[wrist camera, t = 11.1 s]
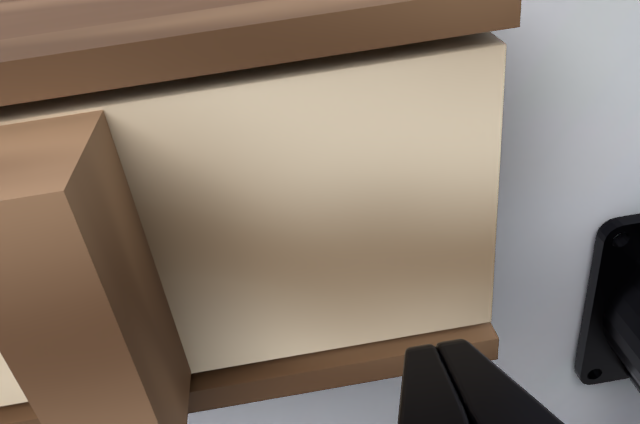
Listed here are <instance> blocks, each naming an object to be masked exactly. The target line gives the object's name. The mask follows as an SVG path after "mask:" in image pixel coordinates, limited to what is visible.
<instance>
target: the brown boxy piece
mask: <svg viewBox="0 0 640 424" xmlns="http://www.w3.org/2000/svg"><path fill="white" fill-rule="evenodd" d="M520 13H521V0H0V106H6V105H13V104H19V103H26V102H32V101H39V100H45V99H52V98H59V97H65V96H72V95H78V94H85V93H91V92H98V91H104V90H111V89H117V88H124V87H130V86H137V85H143V84H150V83H157V82H163V81H170V80H176V79H183V78H189V77H196V76H202V75H209V74H215V73H222V72H228V71H235V70H242V69H248V68H255V67H261V66H268V65H274V64H281V63H287V62H294V61H300V60H307V59H313V58H320V57H326V56H333V55H340V54H346V53H353V52H359V51H366V50H372V49H379V48H385V47H392V46H398V45H405V44H411V43H418V42H424V41H431V40H438V39H444V38H451V37H457V36H464V35H470V34H477V33H483V32H490V31H496V30H503V29H509V28H516V27H520ZM455 339H464V340H467V341H468V342H469V343H471V344H472V345H473V346H474V347H475V348H476V349H478V350H479V351H480V352H481V353H482V354H483V355H485V356H486V357H487V358H488V359H489V360H490V361H491V360H496V359H498V346H499V338H498V336H497V334H496V332H495V330H494V328H493V326H492V324H491V323H490V322H487V323H481V324H475V325H470V326H464V327H458V328H452V329H446V330H441V331H435V332H429V333H423V334H417V335H412V336H406V337H400V338H394V339H389V340H383V341H377V342H371V343H365V344H360V345H354V346H348V347H342V348H336V349H331V350H325V351H319V352H313V353H307V354H302V355H296V356H290V357H284V358H278V359H273V360H267V361H261V362H255V363H250V364H244V365H238V366H232V367H226V368H221V369H215V370H209V371H203V372H197V373H192V374H191V381H190V393H189V405H188V413H194V412H200V411H205V410H211V409H217V408H223V407H228V406H234V405H240V404H245V403H251V402H257V401H263V400H268V399H274V398H280V397H285V396H291V395H297V394H302V393H308V392H314V391H320V390H325V389H331V388H337V387H342V386H348V385H354V384H360V383H365V382H371V381H377V380H382V379H388V378H394V377H399V376H402V375H403V365H404V355H405V351H406V349H407V348H409V347H414V346H419V345H425V344H432V345H434V346H436V344H437V343H439V342H443V341H449V340H455ZM0 424H41V423H40V421H39V419H38V417H37V416H36V414H35V412H34V410H33V409H32V407H31V405H30V403H29V402H24V403H18V404H12V405H6V406H0Z"/></svg>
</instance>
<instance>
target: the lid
mask: <svg viewBox="0 0 640 424" xmlns="http://www.w3.org/2000/svg"><path fill="white" fill-rule="evenodd" d="M505 62H506V44H505V43H504V42H503V41H501V40H500V39H499V38H497V37H496V36H495V35H493V34H492V33H491V32H483V33H477V34H470V35H464V36H457V37H451V38H444V39H438V40H431V41H424V42H418V43H411V44H405V45H398V46H392V47H385V48H379V49H372V50H366V51H359V52H353V53H346V54H340V55H333V56H326V57H320V58H313V59H307V60H300V61H294V62H287V63H281V64H274V65H268V66H261V67H255V68H248V69H242V70H235V71H228V72H222V73H215V74H209V75H202V76H196V77H189V78H183V79H176V80H170V81H163V82H157V83H150V84H143V85H137V86H130V87H124V88H117V89H111V90H104V91H98V92H91V93H85V94H78V95H72V96H65V97H59V98H52V99H45V100H39V101H32V102H26V103H19V104H13V105H6V106H0V406H6V405H12V404H18V403H24V402H29V403H30V405H31V407H32V409H33V410H34V412H35V414H36V416H37V417H38V419H39V421H40V423H41V424H187V417H188V405H189V393H190V381H191V374H192V373H197V372H203V371H209V370H215V369H221V368H226V367H232V366H238V365H244V364H250V363H255V362H261V361H267V360H273V359H278V358H284V357H290V356H296V355H302V354H307V353H313V352H319V351H325V350H331V349H336V348H342V347H348V346H354V345H360V344H365V343H371V342H377V341H383V340H389V339H394V338H400V337H406V336H412V335H417V334H423V333H429V332H435V331H441V330H446V329H452V328H458V327H464V326H470V325H475V324H481V323H487V322H491V316H492V298H493V280H494V262H495V244H496V226H497V207H498V189H499V171H500V153H501V135H502V117H503V99H504V81H505Z"/></svg>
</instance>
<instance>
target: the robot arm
mask: <svg viewBox="0 0 640 424" xmlns="http://www.w3.org/2000/svg"><path fill="white" fill-rule="evenodd" d="M620 233H621V234H620ZM617 234H620V235H619V236H618V237H617V238H614V237H615V236H616V235H617ZM574 369H575V373H576V374H577V376H578V377H579V379H580V380H581V382H582V383H584V384H587V385H590V384H598V383H603V382H609V381H615V380H620V379H626V378H629V379H630V380H631V381H632V383H633V384H634V386H635V387H636V388H637V390H638V391H639V392H640V214H635V215H629V216H623V217H617V218H613V219H610V220H608V221H607V222H605V223H604V224H603V225H602V226H601V227H600V228H599V230H598V232H597V235H596V241H595V247H594V253H593V259H592V265H591V271H590V277H589V283H588V289H587V295H586V301H585V307H584V313H583V319H582V325H581V331H580V337H579V343H578V349H577V355H576V361H575V367H574ZM398 424H564V423H563V422H562V421H561V420H559V419H558V418H557V417H556V416H555V415H554V414H552V413H551V412H550V411H549V410H548V409H547V408H545V407H544V406H543V405H542V404H541V403H540V402H538V401H537V400H536V399H535V398H534V397H533V396H531V395H530V394H529V393H528V392H527V391H526V390H524V389H523V388H522V387H521V386H520V385H519V384H517V383H516V382H515V381H514V380H513V379H511V378H510V377H509V376H508V375H507V374H506V373H504V372H503V371H502V370H501V369H500V368H499V367H497V366H496V365H495V364H494V363H493V362H492V361H490V360H489V359H488V358H487V357H486V356H485V355H483V354H482V353H481V352H480V351H479V350H478V349H476V348H475V347H474V346H473V345H472V344H471V343H469V342H468V341H467V340H464V339H455V340H449V341H443V342H439V343H437V344H436V346H434V345H432V344H425V345H419V346H414V347H409V348H407V349H406V351H405V355H404V365H403V375H402V385H401V395H400V405H399V415H398Z"/></svg>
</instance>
